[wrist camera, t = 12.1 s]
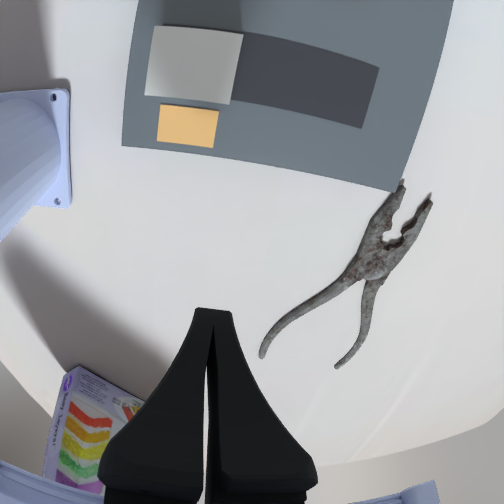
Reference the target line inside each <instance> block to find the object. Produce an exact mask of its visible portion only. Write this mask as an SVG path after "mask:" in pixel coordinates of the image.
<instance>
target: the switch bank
mask: <svg viewBox="0 0 504 504" xmlns="http://www.w3.org/2000/svg"><path fill="white" fill-rule="evenodd" d="M453 1H454V0H139V2H138V7H137V12H136V18H135V23H134V29H133V35H132V42H131V49H130V56H129V63H128V71H127V80H126V90H125V101H124V113H123V127H122V146H128V147H139V148H149V149H159V150H168V151H176V152H184V153H192V154H200V155H207V156H214V157H221V158H227V159H234V160H240V161H246V162H252V163H258V164H264V165H269V166H275V167H280V168H286V169H291V170H296V171H301V172H306V173H311V174H316V175H320V176H325V177H330V178H334V179H339V180H343V181H347V182H352V183H356V184H360V185H364V186H368V187H372V188H376V189H380V190H384V191H388V192H392V193H395V192H396V189H397V187H398V184H399V182H400V179H401V177H402V174H403V171H404V169H405V166H406V163H407V161H408V158H409V155H410V153H411V150H412V147H413V144H414V142H415V139H416V136H417V133H418V130H419V127H420V124H421V121H422V118H423V115H424V112H425V109H426V106H427V103H428V99H429V96H430V93H431V90H432V86H433V83H434V79H435V76H436V72H437V69H438V65H439V62H440V58H441V54H442V50H443V46H444V42H445V38H446V34H447V29H448V25H449V21H450V16H451V11H452V6H453ZM154 26H172V27H186V28H197V29H206V30H215V31H223V32H230V33H236V34H243V39H242V44H241V49H240V53H239V58H238V63H237V68H236V73H235V78H234V83H233V88H232V93H231V98H230V104H229V105H227V104H221V103H214V102H207V101H199V100H190V99H181V98H172V97H161V96H148V95H145V86H146V78H147V70H148V63H149V56H150V50H151V43H152V37H153V31H154Z"/></svg>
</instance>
